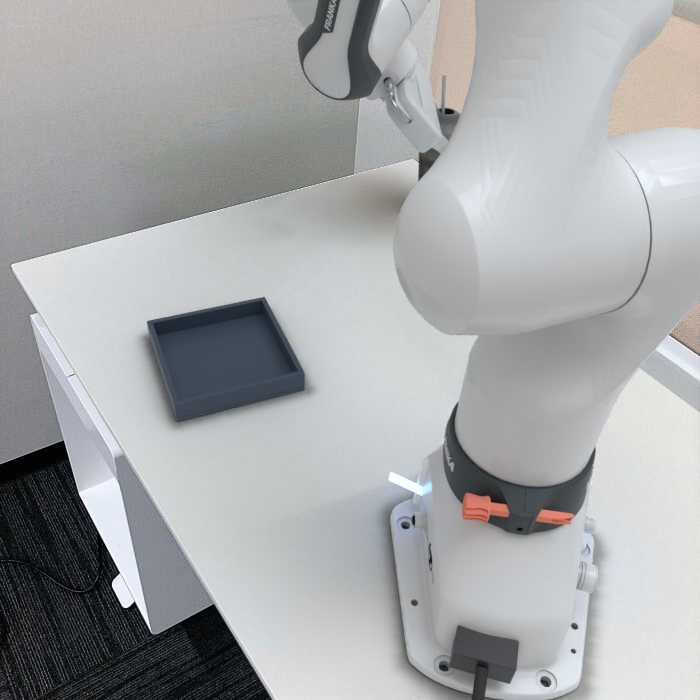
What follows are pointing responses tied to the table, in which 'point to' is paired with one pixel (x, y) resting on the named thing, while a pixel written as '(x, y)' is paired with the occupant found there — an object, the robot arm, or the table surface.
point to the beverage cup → (447, 125)
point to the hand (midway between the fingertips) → (446, 138)
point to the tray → (224, 358)
